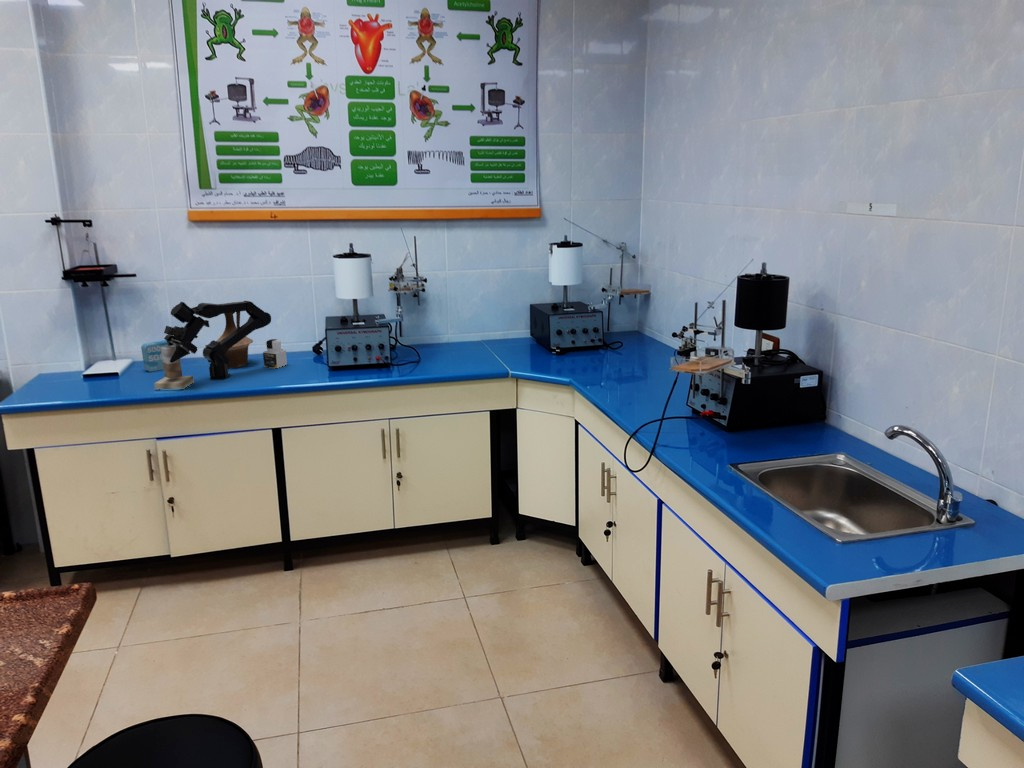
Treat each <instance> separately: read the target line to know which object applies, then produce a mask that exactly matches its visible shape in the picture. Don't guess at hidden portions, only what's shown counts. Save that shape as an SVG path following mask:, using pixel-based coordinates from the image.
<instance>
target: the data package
mask: <svg viewBox="0 0 1024 768" xmlns="http://www.w3.org/2000/svg"><path fill="white" fill-rule="evenodd" d="M167 346H168V343H167V341H166V340H165V339H163V340H158V341H153V342H146V343H142V345H141V348H140V349H141V355H142V361H143V363H142V364H143V368H144V369H145V371H147V372H150V373H152V372H151V371H154V372H158V371H157V370H159V371H164V370H163V369H164V367H163V360H162V354H161V347H167Z"/></svg>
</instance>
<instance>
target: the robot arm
mask: <svg viewBox="0 0 1024 768" xmlns="http://www.w3.org/2000/svg"><path fill="white" fill-rule="evenodd" d="M232 312H235V313H236V312H240V313H241V312H246V314H247V315H248V316H249V317H248V318H247V321H246V322H245V323H244V324H242V325H240V327H239V328H238V329H237V330H235V331H234V332H232V333H231V334H230V335H228V336H227V337H226V338H224V339H223V340H221V341H220V342H217V340H211V342H209V343H208V344H206V345H205V346H204V348H203V349H202V357H204V359H206V360H207V362H208V363H209V367H208V371H209V379H210V380H225V379H227V378H228V377H229V376H231V373H229V368H228V366H227V364H228V362H229V358H227V357H226V356H225V355H226V353H227V351H228V349H229V348H231V347H232V346H234V345H235V344H236V343H238V342H239V341H240V340H242V339H243V338H244V337H248V336H249V335H250V334H251V333H252V332H254V331H256V330H259V329H262V328H264V327H267V326H268V325H270V324H271V322H272V316H271V314H270V313H269V312H266V311H264V310H263V309H261V308H260V307H258V306H257V305H256V304H255V303H254V302H252V301H250V300H243V301H237V302H234V303H232V302H227V303H209V302H200V303H198V305H197V306H194V307H190V306H188V305H187V303H185V301H180V302H179V303H178V304H176V305H175V306H173V307H172V309H171V310H170V315H171V316H172V317H174V318H175V319H176V320H177V321H179V322H181V323H182V324H185V323H186V324H185V325H184V327H183V326H181V327H180V326H177V325H175V326H173V327H172V326H169V325H166V326H165V327H164V331H163V333H164V334H166V335H165V337H164V339H163V340H166V341H167V343H168V346H172V345H174V346H176V351H175V352H174V354H173V356H172V358H171V360H170V362H171V363H173V362H175V361H176V360H178V359H180V360H181V358H184V357H186V356H188V355H191V353H192V354H195V355H196V353H197V351H198V346H197V345H195V344H193V341H194V340H195V339H198V337H199V336H198V334H199V333H200V331H201V330H202V329H203V328H204V327H205V328H206V327H207V328H210V326H211V325H210V321H209V319H212V318H216V317H218V316H220V315H222V314H223V315H224V313H232ZM196 315H197V316H196ZM226 377H227V378H226Z"/></svg>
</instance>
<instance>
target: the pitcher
mask: <svg viewBox="0 0 1024 768" xmlns="http://www.w3.org/2000/svg"><path fill="white" fill-rule="evenodd" d="M231 303H234V302H231ZM234 314H235V315H236V320H235V318H234ZM223 315H224V318H225V328H224V331H223V332H222V334H221V335H220V337H219V338H218V339H217V340H216V341H217V342H220V341H221V340H223V339H224V338H226V337H227V336H228V335H230V334H231V333H232V332H234V331H235V330H237V329H238V328H239V327H241V311H240V312H232V313H224V314H223ZM235 321H236V323H235ZM253 342H254V340H253V339H252V338H250V337H248V336H246V337H244V338H243V339H242V340H240V341H239V342H238V343H236V344H235V345H234V346H232V347H231V348H229V349H228V351H227V353H226V355H225V356H226V357H227V358H229V362H228V364H227V366H228V369H231V368H232V369H234V367H236V368H241V367H246V366H247V365H248V364H249V345H250V344H252V343H253Z"/></svg>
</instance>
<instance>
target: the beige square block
mask: <svg viewBox="0 0 1024 768" xmlns="http://www.w3.org/2000/svg"><path fill="white" fill-rule="evenodd" d="M192 383H193V384H194V383H195V379H194V375H182V376H181V377H176V378H171V379H170V378H167V377H165V376H163V378H161V379H159V380H157V381H156V382H154V383H153V385H154V391H155V390H156V389H184V388H185V387H187V386H189V385H190V384H192ZM193 384H192V385H193ZM190 386H191V385H190ZM190 386H189V387H190ZM187 388H188V387H187ZM184 390H185V389H184Z"/></svg>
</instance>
